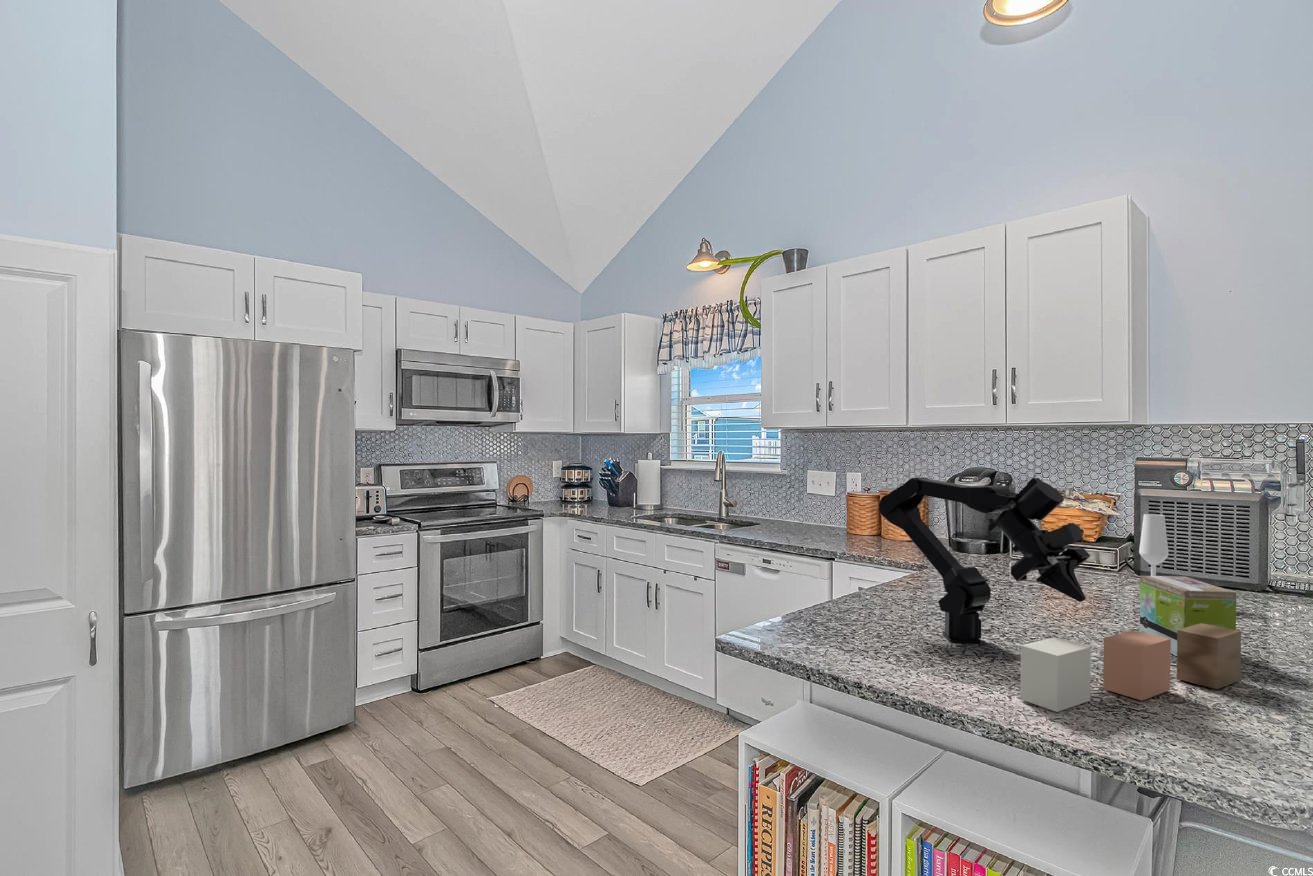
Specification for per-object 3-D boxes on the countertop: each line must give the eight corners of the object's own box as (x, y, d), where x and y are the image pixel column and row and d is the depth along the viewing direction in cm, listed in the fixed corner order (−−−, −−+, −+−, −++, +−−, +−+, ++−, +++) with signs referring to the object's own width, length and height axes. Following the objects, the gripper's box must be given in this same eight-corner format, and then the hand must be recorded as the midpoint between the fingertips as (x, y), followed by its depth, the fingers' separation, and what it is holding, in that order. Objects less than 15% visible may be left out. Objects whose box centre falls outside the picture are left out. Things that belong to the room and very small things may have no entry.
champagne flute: (1164, 597, 189) (1165, 514, 189) (1171, 602, 183) (1172, 516, 183) (1135, 595, 192) (1136, 513, 192) (1142, 600, 185) (1143, 515, 186)
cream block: (1020, 699, 110) (1020, 645, 110) (1053, 688, 115) (1054, 637, 115) (1057, 712, 105) (1057, 655, 105) (1090, 700, 110) (1090, 646, 110)
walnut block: (1176, 678, 121) (1177, 629, 121) (1200, 669, 126) (1201, 623, 126) (1217, 689, 116) (1217, 638, 116) (1240, 679, 121) (1241, 631, 121)
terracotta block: (1103, 688, 115) (1103, 637, 116) (1131, 679, 120) (1132, 630, 121) (1142, 700, 110) (1142, 647, 110) (1170, 690, 115) (1170, 639, 115)
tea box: (1137, 639, 147) (1138, 573, 147) (1185, 642, 146) (1186, 575, 146) (1184, 662, 132) (1185, 588, 132) (1238, 664, 131) (1239, 590, 131)
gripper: (1025, 511, 124) (1088, 579, 114) (1079, 507, 133) (1141, 570, 123) (986, 547, 130) (1043, 615, 121) (1040, 541, 140) (1096, 604, 130)
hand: (1082, 600), depth 123 cm, fingers closed
